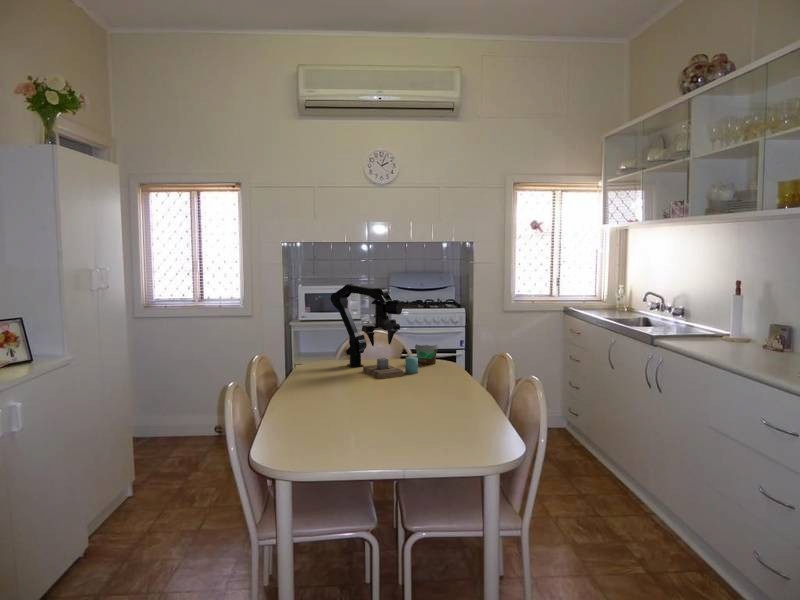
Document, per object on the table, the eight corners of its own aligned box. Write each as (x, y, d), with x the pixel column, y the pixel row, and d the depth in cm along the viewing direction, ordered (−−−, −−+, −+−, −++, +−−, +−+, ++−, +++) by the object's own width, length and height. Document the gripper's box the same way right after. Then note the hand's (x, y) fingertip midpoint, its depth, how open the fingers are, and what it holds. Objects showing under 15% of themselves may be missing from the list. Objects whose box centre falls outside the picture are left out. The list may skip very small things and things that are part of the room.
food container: (412, 364, 288) (412, 345, 288) (415, 362, 294) (415, 343, 293) (435, 366, 285) (435, 346, 284) (438, 363, 291) (438, 344, 290)
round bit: (402, 372, 271) (402, 357, 271) (413, 370, 275) (413, 356, 274) (410, 374, 266) (410, 359, 266) (420, 372, 270) (420, 358, 269)
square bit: (377, 373, 269) (377, 358, 268) (384, 372, 271) (384, 358, 270) (381, 374, 266) (380, 360, 265) (388, 373, 268) (388, 359, 267)
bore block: (363, 371, 273) (363, 366, 273) (384, 368, 279) (384, 363, 279) (380, 378, 258) (380, 373, 257) (403, 375, 264) (403, 370, 263)
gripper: (371, 316, 264) (371, 349, 265) (405, 314, 273) (405, 345, 275) (361, 314, 273) (361, 345, 275) (394, 311, 283) (394, 342, 284)
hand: (381, 345), depth 277 cm, fingers open, 9 cm apart
